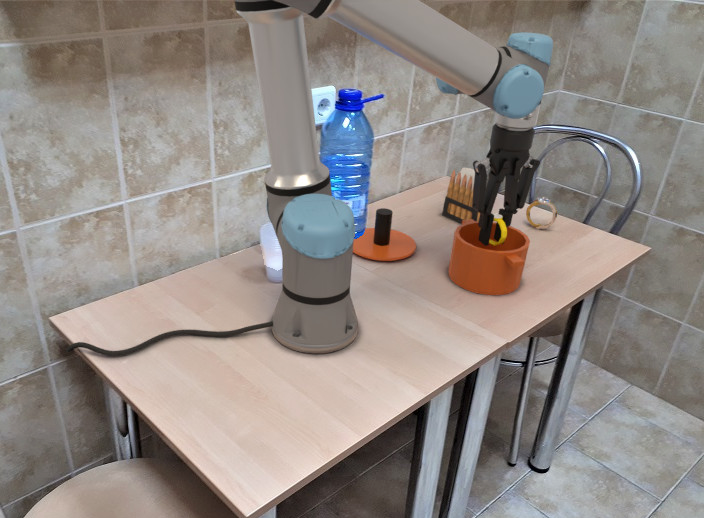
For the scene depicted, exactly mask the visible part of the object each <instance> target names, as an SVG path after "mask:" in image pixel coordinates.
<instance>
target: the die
mask: <svg viewBox="0 0 704 518" xmlns="http://www.w3.org/2000/svg"><path fill="white" fill-rule="evenodd" d="M459 172H460V173H461V183H462V179H463V177H464V175H465V174H466V176H467V184H468V181H469V178H470V177H471V176H472V189H473V185H474V177H475V171H474V168H470V167H464V166H463V167H462V168H461V170H460V171H459ZM456 178H457V175H455V183H456ZM467 184H466V188H467ZM460 188H461V185H460Z"/></svg>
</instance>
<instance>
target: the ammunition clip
mask: <svg viewBox="0 0 704 518" xmlns="http://www.w3.org/2000/svg"><path fill="white" fill-rule="evenodd" d="M456 176H457V178H456ZM449 178H450V179H449V183H448V187H447V191H446V196H444V197H445V198H444V202H443V208H442V213H441V215H442V216H443V217H445V218H448V219H450V220H452V221H455V222H457V223H459V224H460V225H462V220H468V219H473V220H474V221H479V217H480V213H479V212H478V211H476V210H475V209H474V208H473V207H472V201H473V189H474V185H473V189H472V176H471V177H470V178H469V181H468V184H467V176H466V174H465V175H464V177H463V179H462V183H461V173H460V171H459V172H458V173H457V175H456V170H455V169H453V170H452V172H451V174H450V177H449ZM455 178H456V183H455ZM466 184H467V188H466ZM460 185H461V188H460Z"/></svg>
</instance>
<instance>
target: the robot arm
mask: <svg viewBox="0 0 704 518" xmlns="http://www.w3.org/2000/svg"><path fill="white" fill-rule="evenodd" d="M234 7H235V12H236V13H237V14H238V15H239V16H240V17H241V18H242V19H244V20H245V21H246V22H247V25H248V31H249V37H250V44H251V50H252V56H253V63H254V68H255V69H254V70H255V74H256V81H257V86H258V93H259V100H260V106H261V112H262V118H263V124H264V130H265V131H264V132H265V137H266V144H267V150H268V157H269V162H270V169H269V170H268V172H267V173H266V174H265V175H264V185H265V191H266V196H267V197H266V205H265V207H266V213H267V216H268V219H269V222H270V223H271V225H272V228H273V231H274V233H275V236H276V239H277V241H278V244H279V247H280V250H281V257H282V259H281V260H282V261H281V262H282V263H281V264H282V265H281V266H282V268H281V269H282V270H281V271H282V273H281V274H282V275H281V276H282V277H281V279H282V280H281V281H282V288H281V294H279V295H280V296H279V298H278V301H277V303H276V306H275V309H274V310H273V311H274V312H273V314H272V317H271V321H267V322H262V323H257V324H252V325H249V326H244V327H241V328H238V329H232V330H225V331H223V330H222V331H215V330H213V331H212V330H203V329H202V330H201V329H176V330H170V331H167V332H162V333H161V334H157V335H156V336H153V337H151V338H149V339H147V340H145V341H144V342H141V343H139V344H137V345H135V346H131V347H129V348H125V349H119V350H110V349H109V350H108V349H104V348H101V347H98V346H96V345H93V344H91V343H88V342H84V341H78V342H74V343H72V344H70V345H68V346H67V347H66V349H65V352H72V351H73V350H75V349H77V348H81V349H86V350H89V351H92V352H94V353H97V354H99V355H102V356H107V357H121V356H127V355H130V354H133V353H136V352H139V351H141V350H143V349H145V348H147V347H149V346H151V345H153V344H154V343H157V342H159V341H161V340H164V339H167V338H171V337H175V336H184V335H185V336H187V335H188V336H189V335H191V336H192V335H193V336H203V337H215V338H216V337H219V338H221V337H232V336H238V335H241V334H245V333H248V332H253V331H257V330H262V329H267V328H271V332H272V335H273V336H274V338H275V339H276V341H277V342H279V343H280V344H281V345H283V346H284V347H286V348H288V349H290V350H292V351H296V352H299V353H305V354H328V353H333V352H337V351H340V350H342V349H344V348H346V347H348V346H349V345H350V344H352V342H354V341H355V339H356V338H357V335H358V326H359V320H358V316H357V313H356V310H355V306H354V303H353V299H352V296H351V280H352V267H353V266H352V265H353V254H354V252H353V242H354V237H355V231H356V224H355V216H354V215H355V214H354V212H353V210H352V208H351V207H350V206H349V204H347V203H346V202H345V201H343V200H342V199H340V198H338V199H336V197H335V196H333V194H332V193H333V191H332V184H331V183H332V182H331V173H330V169H329V167H328V166H327V165H325V164H324V163H322V162H321V161H320V154H319V153H320V152H319V144H318V135H317V126H316V118H315V108H314V100H313V99H314V98H313V92H312V91H313V90H312V84H311V81H312V80H311V75H310V74H311V73H310V63H309V56H308V55H309V54H308V47H307V38H306V29H305V20H304V14H306V15H308V16H310V17H312V18H314V19H315V20H321V19H324V18H329V19H331V20H333V21H335V22H337V23H339V24H341V25H342V26H344V27H345V28H347V29H349V30H351V31H353V32H355V33H356V34H358V35H360V36H362V37H363V38H365V39H367V40H369V41H371V42H372V43H374V44H376V45H378V46H379V47H381V48H383V49H385V50H386V51H389V52H390V53H392V54H394V55H395V56H397V57H399V58H401V59H403V60H404V61H406V62H408V63H410V64H412V65H414V66H415V67H417V68H418V69H421V70H422V71H424V72H426V73H428V74H429V75H431V76H433V77H435V82H436V86H437V88H438V90H439V92H441V93H442V94H445V95H446V94H449V95H454V96H458V95H467V96H468V97H470V98H471V99H473V100H474V101H477V102H478V103H480V104H481V105H484V106H485V107H487V108H489V109H491V110H493V111H494V116H493V122H494V124H493V125H492V128H491V133H490V139H489V150H488V151H487V153H486V155H485V158H483V159H481V160H480V161H479V160H474V161H473V162H472V167H473V169H474V171H475V177H474V189H473V201H472V207H473V208H474V209H475V210H476V211H478V212H479V213H480V217H479V222H478V226H479V227H480V233H479V239H478V240H479V241H480V242H481V243H482V244H484V245H485V246H487V245H489V240H490V235H491V230H492V225H493V222H494V221H493V220H494V215H493V214H492V211H493V209H494V206H495V203H496V200H497V196H498V193H499V191H500V187H501V185H502V183H503V182H504V181H505V182H504V195H503V208H499V210H498V214H500V215H502V216H503V218H502V220H503V221H504V222H505V225H506V228H507V227H509V226H511V224H512V222H513V221H512V220H513V217H514V215H516V214H517V213H518V212H519V210H522V209H523V208H525V204H526V201H527V198H528V195H529V192H530V189H531V186H532V182H533V179H534V175H535V173H536V171H537V169H538V168H539V166H540V165H541V161H540V160H539V159H538V158H535V157H533V156H531V154H530V150H531V148H532V147H533V144H534V143H533V142H534V137H535V132H536V130H535V128H534V127H536V126H537V124H538V123H537V122H538V119H539V114H540V109H541V105H542V100H543V97H544V93H545V87H546V82H547V78H548V74H549V70H550V67H551V64H552V63H551V61H552V57H553V56H552V55H553V49H554V41H553V40H554V39H552V37H551V36H549V35H547V34H543V33H537V32H525V31H524V32H523V31H522V32H513V33H511V34H510V35H509V37H508V40H507V42H506V45H503V46H493V45H491V44H490V43H488V42H487V41H485V40H484V39H482V38H480V37H479V36H477V35H475V34H474V33H472V32H471V31H469V30H467V29H466V28H464V27H463V26H461V25H460V24H458V23H456V22H455V21H453V20H451V19H450V18H448V17H447V16H445V15H443V14H442V13H440V12H438V11H437V10H435V9H434V8H432V7H430V6H429V5H427V4H426V3H424V2H422V1H421V0H234ZM489 168H490V169H489ZM496 223H497V222H496ZM500 238H501V228H500V225H499V224H498V223H497V224H496V229H495V233H494V239H495V240H496V241H498V242H499V240H500ZM501 244H504V242H503V243H501Z"/></svg>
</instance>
